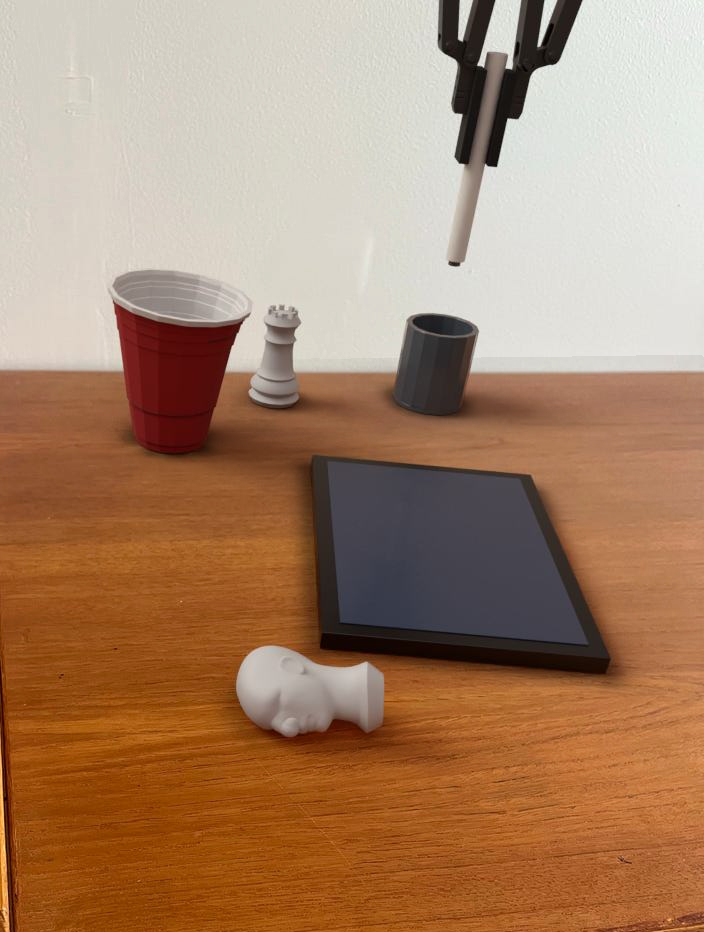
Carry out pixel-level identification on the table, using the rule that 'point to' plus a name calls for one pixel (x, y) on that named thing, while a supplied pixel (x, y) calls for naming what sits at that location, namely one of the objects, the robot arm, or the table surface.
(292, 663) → the white mannequin head
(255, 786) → the table surface
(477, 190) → the stylus
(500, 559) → the tablet
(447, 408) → the pen pot
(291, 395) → the rook chess piece
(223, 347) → the plastic cup
